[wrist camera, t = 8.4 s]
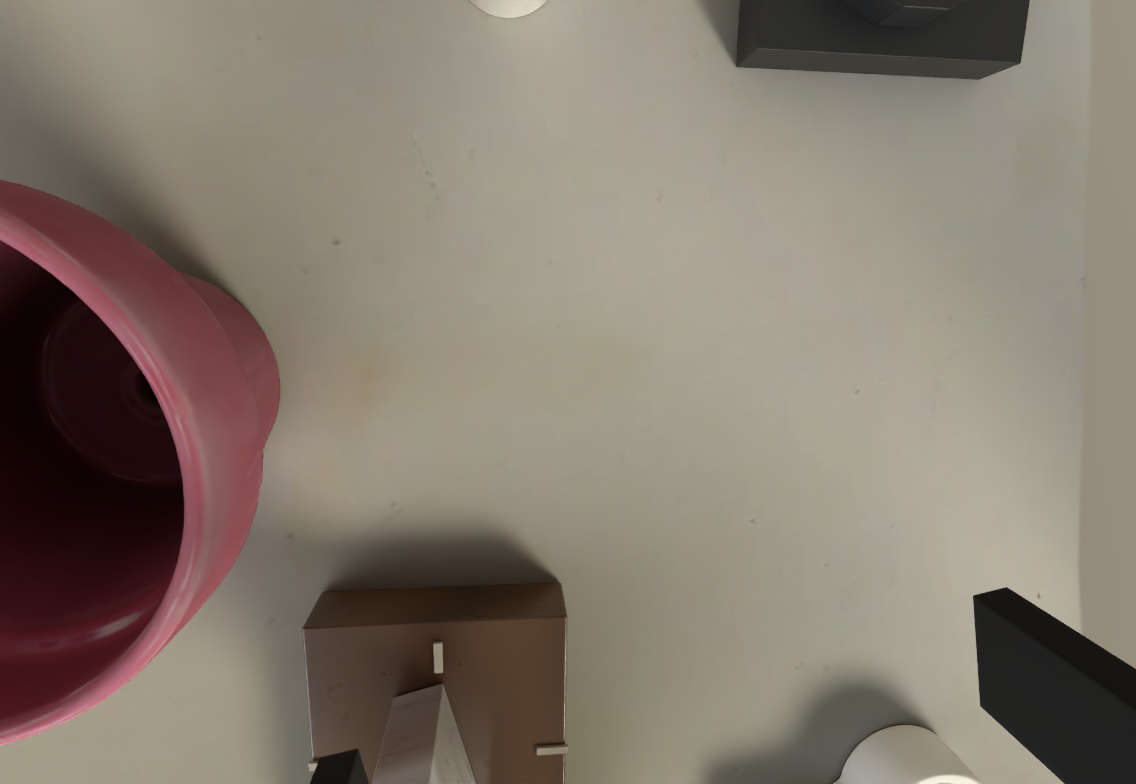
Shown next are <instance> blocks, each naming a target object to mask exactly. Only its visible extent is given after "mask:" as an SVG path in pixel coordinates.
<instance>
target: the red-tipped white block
mask: <svg viewBox="0 0 1136 784" xmlns="http://www.w3.org/2000/svg"><path fill="white" fill-rule="evenodd" d="M372 784H476V781H475V778H474V775H473V772H472V769H471V766H470V763H469V760H468V757H467V754H466V751H465V748H464V745H463V742H462V739H461V736H460V733H459V730H458V727H457V724H456V721H455V718H454V715H453V712H452V709H451V706H450V703H449V700H448V697H447V694H446V691H445V688H444V685H443V684H439V685H436V686H432V687H429V688H425V689H422V690H418V691H415V692H411V693H408V694H404V695H401V696H397V697H394V698H393V702H392V706H391V710H390V714H389V718H388V722H387V726H386V730H385V733H384V737H383V741H382V745H381V749H380V753H379V757H378V761H377V765H376V769H375V773H374V777H373V781H372Z"/></svg>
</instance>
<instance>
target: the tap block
mask: <svg viewBox="0 0 1136 784" xmlns="http://www.w3.org/2000/svg"><path fill="white" fill-rule="evenodd" d="M303 641H304V654H305V667H306V681H307V694H308V707H309V720H310V734H311V747H312V760H313V761H309V771H312V770H313V773H314V772H315V769H316V766H317V764H318V761H319V758H320V757H324V756H328V755H332V754H337V753H341V752H345V751H349V750H353V749H357V748H358V750H359V753H360V756H361V759H362V762H363V765H364V768H365V771H366V774H367V778H368V781H369V784H372V781H373V777H374V773H375V769H376V765H377V761H378V757H379V753H380V749H381V745H382V741H383V737H384V733H385V730H386V726H387V722H388V718H389V714H390V710H391V706H392V702H393V698H394V697H397V696H401V695H404V694H408V693H411V692H415V691H418V690H422V689H425V688H429V687H432V686H436V685H439V684H443V685H444V688H445V691H446V694H447V697H448V700H449V703H450V706H451V709H452V712H453V715H454V718H455V721H456V724H457V727H458V730H459V733H460V736H461V739H462V742H463V745H464V748H465V751H466V754H467V757H468V760H469V763H470V766H471V769H472V772H473V775H474V778H475V781H476V784H565V754H566V753H568V744H565V726H566V666H567V613H566V607H565V602H564V597H563V591H562V586H561V583H538V584H511V585H485V586H458V587H432V588H405V589H379V590H353V591H326V592H322V594H321V596H320V598H319V599H318V601H317V603H316V605H315V607H314V608H313V610H312V612H311V614H310V616H309V618H308V619H307V621H306V623H305V625H304V627H303Z"/></svg>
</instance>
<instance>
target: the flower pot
mask: <svg viewBox="0 0 1136 784" xmlns="http://www.w3.org/2000/svg"><path fill="white" fill-rule="evenodd" d="M147 381H148V383H149V384H150V386H151V388H152V390H153V392H154V394H155V395H156V397H157V399H158V402H157V401H156V400H155V399H153V397H152V396H151V394H150V392H149V391H148V386H147ZM279 400H280V379H279V371H278V366H277V361H276V359H275V356H274V353H273V350H272V348H271V345H270V343H269V341H268V339H267V337H266V335H265V334H264V332H263V330H262V329H261V328H260V326H259V325H258V323H257V322H256V320H255V319H254V318H253V317H252V315H251V314H250V313H249V312H248V311H247V310H246V309H245V308H244V307H243V306H242V305H241V304H239V303H238V302H237V301H236V300H235V299H233V298H232V297H231V296H230V295H228V294H227V293H226V292H224V291H223V290H221V289H219V288H218V287H216V286H214V285H212V284H210V283H208V282H206V281H204V280H202V279H199V278H196V277H194V276H191V275H188V274H184V273H182V272H179V271H177V270H175V269H173V268H172V267H170V266H169V265H168V264H167V263H166V262H165V261H164V260H163V259H161V258H160V257H159V256H158V255H156V254H155V253H154V252H153V251H152V250H150V249H149V248H148V247H147V246H145V245H144V244H143V243H141V242H140V241H139V240H137V239H136V238H134V237H133V236H131V235H130V234H128V233H127V232H125V231H124V230H122V229H121V228H119V227H118V226H116V225H114V224H112V223H111V222H109V221H107V220H106V219H104V218H102V217H100V216H98V215H96V214H94V213H92V212H90V211H88V210H86V209H84V208H82V207H80V206H78V205H75V204H73V203H71V202H68V201H66V200H63V199H61V198H59V197H56V196H54V195H51V194H48V193H45V192H43V191H40V190H37V189H33V188H30V187H27V186H24V185H20V184H15V183H11V182H6V181H2V180H0V745H3V744H7V743H10V742H14V741H17V740H21V739H24V738H27V737H30V736H33V735H36V734H38V733H41V732H44V731H46V730H49V729H51V728H53V727H55V726H58V725H60V724H62V723H64V722H67V721H69V720H71V719H73V718H75V717H77V716H79V715H80V714H82V713H84V712H86V711H88V710H90V709H91V708H93V707H94V706H96V705H97V704H99V703H100V702H102V701H104V700H105V699H106V698H108V697H109V696H111V695H112V694H113V693H115V692H116V691H118V690H119V689H120V688H122V687H123V686H124V685H125V684H126V683H128V682H129V681H130V680H131V679H132V678H133V677H135V676H136V675H137V674H138V673H139V672H140V671H141V670H142V669H143V668H144V667H145V666H146V665H147V664H148V663H149V662H150V661H151V660H152V659H153V658H154V657H155V656H156V655H157V654H158V653H159V652H160V651H161V650H162V649H163V648H164V647H165V646H166V645H167V644H168V643H169V641H170V640H171V639H172V638H173V637H174V636H175V635H176V634H177V633H178V632H179V631H180V630H181V629H182V628H183V627H184V626H185V624H186V623H187V622H188V621H189V620H190V619H191V618H192V617H193V616H194V614H195V613H196V612H197V611H198V610H199V609H200V607H201V606H202V605H203V604H204V603H205V602H206V600H207V599H208V598H209V597H210V596H211V595H212V593H213V592H214V591H215V590H216V588H217V587H218V586H219V585H220V583H221V582H222V580H223V579H224V578H225V576H226V575H227V573H228V572H229V570H230V569H231V567H232V566H233V564H234V562H235V561H236V559H237V557H238V555H239V553H240V551H241V549H242V547H243V545H244V543H245V541H246V539H247V536H248V534H249V531H250V528H251V525H252V522H253V518H254V515H255V512H256V509H257V504H258V499H259V494H260V488H261V483H262V471H263V451H262V450H263V448H264V445H265V443H266V440H267V438H268V436H269V434H270V432H271V429H272V427H273V424H274V422H275V419H276V416H277V412H278V406H279Z"/></svg>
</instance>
